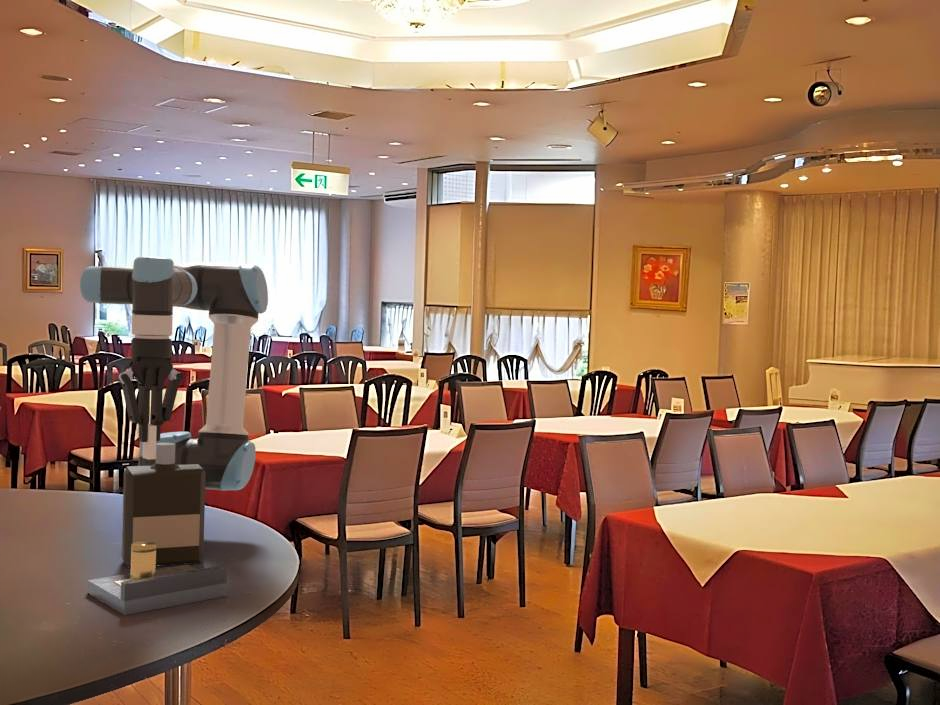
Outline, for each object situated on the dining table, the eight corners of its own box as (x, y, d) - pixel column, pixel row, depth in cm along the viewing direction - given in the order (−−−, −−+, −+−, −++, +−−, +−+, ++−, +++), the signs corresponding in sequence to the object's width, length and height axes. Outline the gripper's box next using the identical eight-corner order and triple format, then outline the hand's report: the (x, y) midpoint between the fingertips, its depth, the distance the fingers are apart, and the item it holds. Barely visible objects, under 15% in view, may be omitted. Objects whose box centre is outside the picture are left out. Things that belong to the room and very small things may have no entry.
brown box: (120, 559, 214) (123, 442, 213) (198, 554, 221) (201, 440, 219) (125, 569, 207) (127, 447, 205) (204, 563, 213) (208, 445, 212)
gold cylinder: (147, 592, 192) (149, 540, 191) (158, 598, 188) (160, 545, 188) (125, 596, 189) (127, 543, 188) (136, 602, 185) (138, 548, 185)
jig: (186, 576, 203) (187, 549, 203) (226, 595, 191) (227, 567, 191) (87, 593, 190) (88, 564, 189) (124, 615, 178) (124, 584, 178)
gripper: (174, 336, 203) (171, 453, 204) (110, 335, 194) (108, 458, 196) (192, 338, 198) (189, 458, 199) (127, 338, 189) (124, 463, 190)
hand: (149, 458), depth 197 cm, fingers closed
